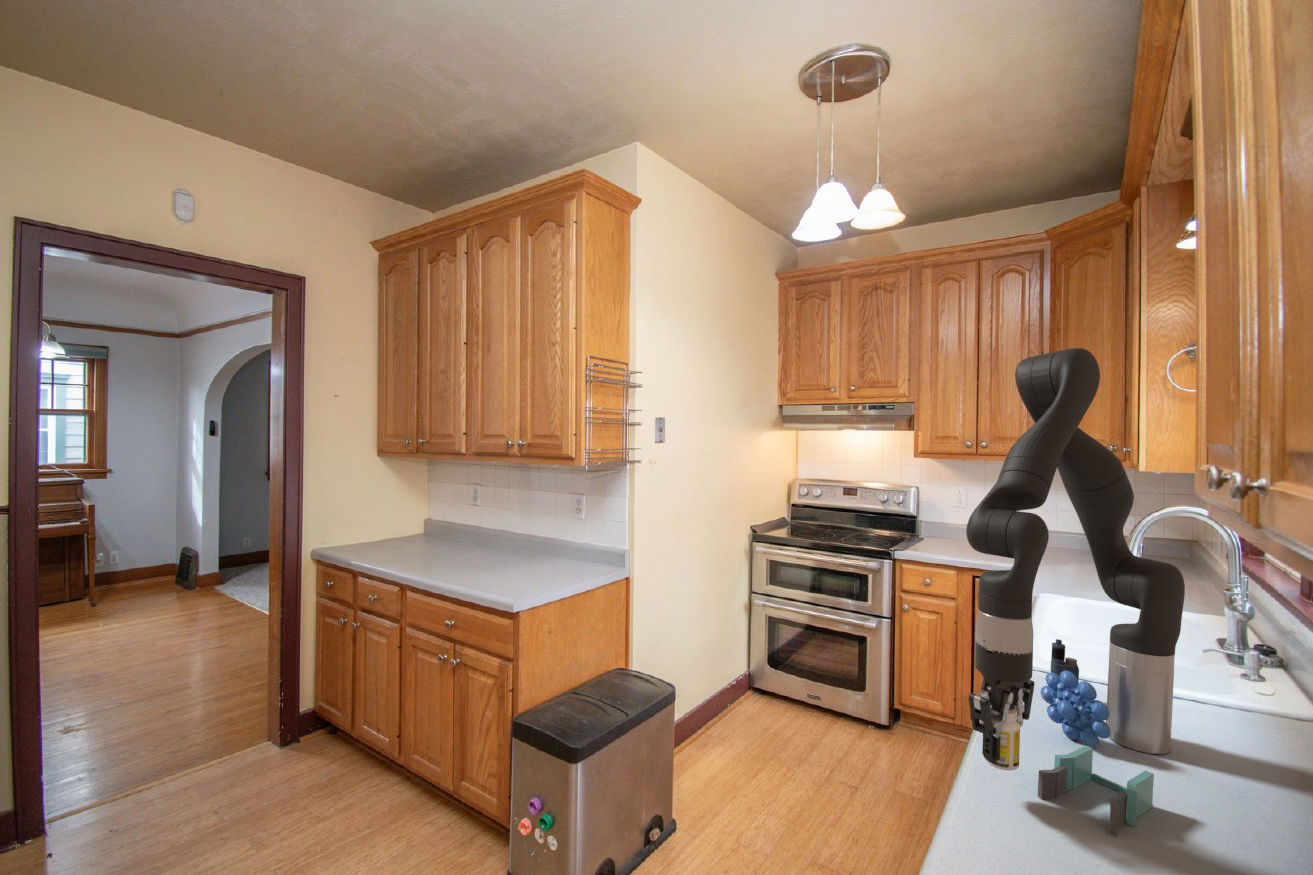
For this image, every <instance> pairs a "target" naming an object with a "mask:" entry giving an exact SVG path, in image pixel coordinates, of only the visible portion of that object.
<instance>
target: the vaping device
mask: <svg viewBox="0 0 1313 875" xmlns="http://www.w3.org/2000/svg"><path fill="white" fill-rule="evenodd" d="M1049 669H1050V673H1055V674H1057V675H1058V676H1059V677H1060V673H1061V672H1063V671H1069V672H1072V673H1073V674H1074V675H1075V676H1076V677H1077V680H1078V683H1079V682H1080V681H1079V680H1080V679H1079V678H1080V668H1079V664H1078V660H1077V659H1076V658H1073V657H1066V645H1065V644H1064V643H1063V641H1062V639H1058V638H1056V639H1055V642H1052V643H1051V660H1050V668H1049Z"/></svg>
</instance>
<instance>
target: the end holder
mask: <svg viewBox="0 0 1313 875" xmlns="http://www.w3.org/2000/svg"><path fill="white" fill-rule="evenodd" d="M1093 753H1094V748H1093V747H1092V746H1089V745H1084V746H1081V747H1079V748H1078V749H1075V750H1074V751H1071V752H1069V753H1067V754H1066V753H1065V754H1055V755H1054V768H1056V767H1058V766H1060V765H1063V766H1065V767H1067V782H1066V791H1070V790H1072V791H1073V790H1074V789H1076V788H1078V787H1080V786H1082V785H1083V784H1086V783H1087V782H1089V781H1091V780H1093V781H1095V782H1097V783H1099V784H1101V785H1103V786H1105V787H1108V788H1109V789H1112V790H1114V791H1117V792H1118V793H1120V792H1122V793H1124V794H1126V795H1127V811H1126V823H1125V824H1126V825H1129V826H1132V827H1136V823H1137V822H1136V821H1137V820H1136V819H1137V818H1138V817H1139V816H1141V815H1143V814H1144V813H1146V812H1147V811H1149V810H1151V809H1152V808H1153V800H1154V775H1155V774H1154V773H1152V772H1151V771H1148V770H1144V771H1142V772H1141V773H1139V774H1136V775H1135V776H1134V777H1132V778H1131V779H1129V780H1128V781H1126V787H1124V786H1122V785H1121V784H1118V783H1116V782H1115V781H1112V780H1110V779H1108V778H1105V777H1103V776H1100V775H1098V774H1096V773H1093V756H1094V754H1093Z"/></svg>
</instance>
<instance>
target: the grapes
mask: <svg viewBox="0 0 1313 875" xmlns="http://www.w3.org/2000/svg"><path fill="white" fill-rule="evenodd" d="M1045 682H1046V685H1043V686H1042V687H1041V689H1040V695H1041V698H1042V699H1043V700H1044V701H1045V702H1046V704H1049V705H1048V706H1047V708H1046V714H1047V716H1048V718H1049V719H1050V720H1051V721H1052V722H1053V723H1056V724H1061V729H1062V732H1063V733H1064V735H1065V736H1066V737H1067V738H1068V739H1070V740H1072V741H1077V740H1079V739H1081V740H1082V741H1083V743H1085V745H1086V746H1089V747H1096V746H1098V744H1099V742H1100V739H1108V738H1109V736H1110V733H1111V731H1110V728H1109V726H1108V725H1107V724H1106V720H1107V719H1108V718H1109V716H1110V713H1109V710H1108V707H1107V704H1105V703H1104V702H1102V701H1100V700H1099V699H1097V696H1098V694H1097V691H1096V688H1095V687H1094V685H1093V684H1091V683H1090V682H1087V681H1085V680H1084V681H1082V680H1081V681H1079V683H1078V680H1077V677H1076V676H1075V675H1074V674H1073V673H1072V672H1069V671H1063V672H1061V673H1060V677H1059V676H1058V675H1057V674H1055V673H1051V672H1049V673H1047V674H1046V675H1045ZM1096 699H1097V700H1096Z"/></svg>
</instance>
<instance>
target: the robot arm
mask: <svg viewBox="0 0 1313 875" xmlns="http://www.w3.org/2000/svg"><path fill="white" fill-rule="evenodd" d="M1014 374H1015V375H1014V376H1015V378H1014V379H1015V384H1016V388H1017V391H1018V394H1019V396H1020V398H1021V400H1022V402H1023V406H1024V407H1025V408H1026V410H1027V412H1028V414H1029V415H1030V418H1031V419H1032V421H1033V423H1034V424H1033V425H1032V426H1030V428H1028V429H1027V430H1026V431H1025V432H1024V433H1023V434H1021V436H1020V437H1019V438H1018V439H1017V440H1015V442H1014V444H1013V445H1012V446H1011V447H1010V448H1009V450H1008V453H1007V455H1006V457H1005V459H1004V462H1003V464H1002V466H1001V470H1000V473H999V475H998V478H997V480H996V483H995V484H994V485H993V486H992V487H991V489H990V490H989V491H988V492H987V494H986V495H985V496H984V497H983V499H982V500H981V501H980V502H979V504H978V505H976V507H975V508H974V510H973V511H972V513H971V515H970V516H969V519H968V521H967V524H966V528H965V529H966V530H965V531H966V538H967V541H968V544H969V545H970V547H971V548H972V549H973V550H974V551H976V552H979V553H980V554H985V555H990V556H995V557H1003V558H1009V559H1013V565H1012V567H1011V568H1010V569H1001V570H999V569H998V570H996V569H993V570H987V571H984V572H982V573H981V574H980V576H979V579H978V597H977V598H978V602H977V603H978V604H977V606H978V607H977V615H976V621H975V648H974V649H975V650H974V653H975V654H974V667H975V669H976V670H977V671H978V672H979V673H980V675H982V678H983V679H982V684H981V686H980V692H979V693H974V692H970V693H969V695H968V702H969V710H970V718H971V725H972V729H973V731H976V732H979V733H980V734H982V749H981V750H982V754H981V755H982V756H984V757H986V758H988V759H990V760H992V761H994V762H996V761H998V760H999V759H1000V737H999V736H1000V732H1001V727H1002V723H1005V722H1006V721H1007V716H1008V711H1009V710H1012V709H1014V708H1015V709H1016V710H1017V722H1018V724H1019V726H1020V728H1022V727H1023V726H1024V720H1025V721H1028V720H1029V719H1030V715H1031V710H1032V704H1033V703H1032V702H1033V695H1034V690H1035V681H1034V680H1031V679H1032V677H1033V666H1034V665H1033V663H1034V662H1033V661H1034V659H1033V658H1034V628H1033V627H1034V624H1033V617H1032V616H1033V615H1032V614H1033V593H1034V586H1035V581H1036V578H1037V573H1038V571H1039V568H1040V566H1041V565H1040V564H1041V562H1042V560H1043V557H1044V554H1045V552H1046V549H1047V547H1048V543H1049V538H1050V537H1049V536H1050V535H1049V528H1048V526H1047V523H1046V521H1045V520H1044V519H1043V518H1042V517H1041V516H1039V515H1038V514H1036V513H1033V512H1027V510H1028V511H1029V510H1033V509H1034V510H1035V509H1037V508H1040V507H1041V506H1043V505H1044V504H1045V503H1046V501H1047V498H1048V496H1049V493H1050V490H1051V486H1052V484H1053V481H1054V477H1055V474H1056V472H1057V471H1058V474H1059V476H1060V479H1061V481H1062V484H1063V486H1064V488H1065V491H1066V493H1067V496H1068V498H1069V501H1070V503H1071V504H1072V506H1073V508H1074V511H1075V512H1076V516H1077V517H1078V519H1079V522H1080V525H1081V528H1082V530H1083V532H1084V535H1085V537H1086V541H1087V544H1088V546H1089V549H1090V552H1091V556H1092V559H1093V563H1094V566H1095V570H1096V573H1097V576H1098V579H1099V580H1098V581H1099V583H1100V586H1101V587H1102V589H1103V591H1104V593H1105V594H1106V596H1107V597H1108V598H1109V599H1110V600H1112V601H1114V602H1116V603H1118V604H1120V605H1123V606H1126V607H1127V606H1128V607H1131V608H1132V609H1133V608H1134V609H1137V610H1140V611H1139V617H1138V621H1137V622H1136V623H1135V622H1134V623H1119V624H1114V625H1112V626H1111V628H1110V631H1109V632H1110V633H1109V645H1108V646H1109V647H1108V652H1109V653H1108V672H1107V694H1106V695H1107V696H1106V706H1107V707H1108V710H1109V713H1110V716H1109V718H1108V719H1107V720H1105V723H1106V724H1107V725H1108V726H1109V728H1110V731H1111V733H1110V736H1109V737H1108V738H1109V739H1110V740H1112V741H1113V742H1115V743H1117V744H1119V745H1121V746H1124V747H1125V748H1129V749H1131V750H1134V751H1138V752H1142V753H1146V754H1152V755H1154V754H1155V755H1164V754H1165V755H1166V754H1168V753H1170V751H1171V744H1172V743H1171V742H1172V741H1171V740H1172V723H1173V722H1172V720H1173V705H1174V704H1173V700H1174V682H1175V660H1176V658H1175V657H1176V646H1177V643H1178V641H1179V639H1180V635H1181V630H1182V620H1183V612H1184V611H1183V610H1184V603H1185V595H1186V594H1185V593H1186V591H1185V589H1186V585H1185V579H1184V577H1183V574H1182V572H1181V570H1180V569H1179V568H1178V567H1177V566H1176V565H1173V564H1171V563H1168V562H1164V561H1160V560H1155V559H1150V558H1145V557H1140V556H1136V555H1134V554H1133V552H1132V551H1131V550H1130V547H1129V546H1128V543H1127V541H1126V538H1125V535H1124V534H1125V533H1124V527H1125V525H1126V523H1127V521H1128V518H1129V516H1130V515H1131V514H1130V513H1131V511H1132V508H1133V505H1134V501H1135V494H1134V491H1133V488H1132V484H1131V482H1130V480H1129V476H1128V474H1127V472H1126V470H1125V468H1124V466H1123V463H1122V462H1121V460H1120V459H1119V458H1118V457H1117V455H1116V454H1115V453H1114V452H1112V451H1111V450H1110V449H1109V448H1107V447H1106V446H1105V445H1104V444H1102V443H1101V442H1099V441H1098V440H1097V439H1095V438H1094V437H1092V436H1090V435H1089V434H1088V433H1087V432H1085V431H1084V430H1082V429H1081V428H1080V427H1079V425H1080V424H1081V422H1082V420H1083V419H1084V417H1085V415H1086V413H1087V411H1088V410H1089V407H1090V406H1091V404H1092V403H1093V402H1094V399H1095V397H1096V394H1098V393H1097V392H1098V390H1099V388H1100V383H1101V382H1100V381H1101V370H1100V366H1099V363H1098V361H1097V359H1096V357H1095V355H1094V354H1092V352H1091V351H1089V350H1088V349H1086V348H1083V347H1073V348H1071V347H1070V348H1067V349H1066V348H1065V349H1062V350H1058V351H1052V352H1048V353H1044V354H1039V355H1034V356H1031V357H1026V358H1024V359H1022V360H1021V361H1019V362H1018V363H1017V366H1016V368H1015V372H1014ZM1025 510H1026V511H1025ZM990 708H991V709H993V710H995V711H998V712H1000V714H999V715H997V714H995V713H992V712H991V709H990ZM992 719H994V720H995V723H994V727H993V724H992ZM984 757H983V758H984Z"/></svg>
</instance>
